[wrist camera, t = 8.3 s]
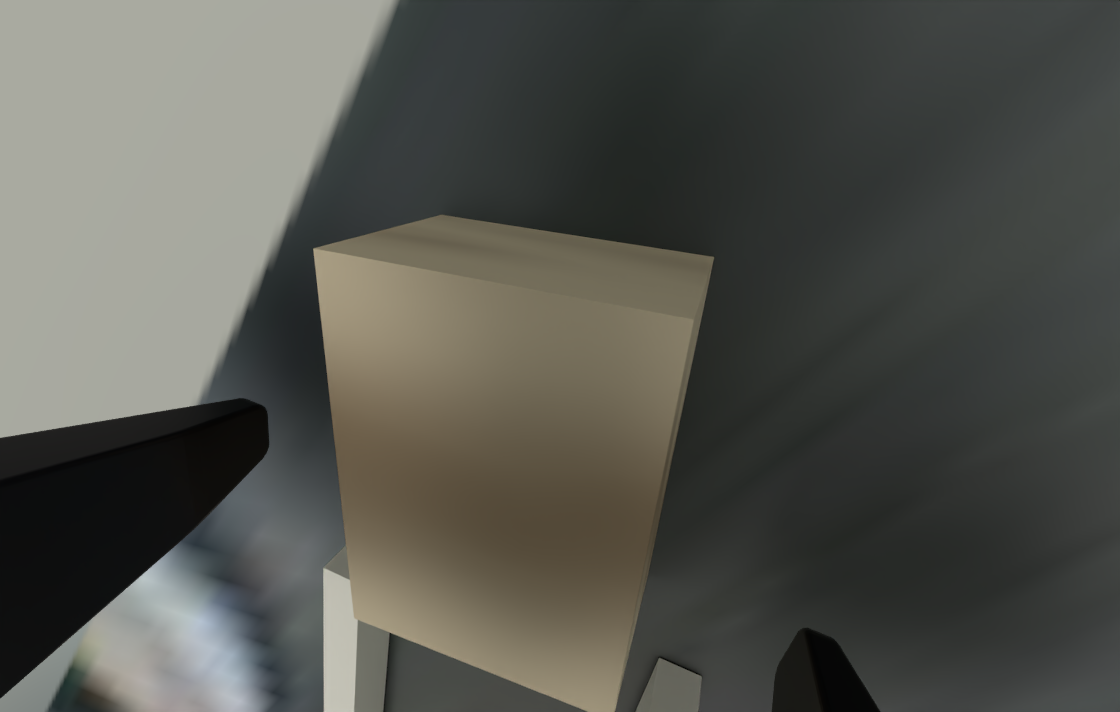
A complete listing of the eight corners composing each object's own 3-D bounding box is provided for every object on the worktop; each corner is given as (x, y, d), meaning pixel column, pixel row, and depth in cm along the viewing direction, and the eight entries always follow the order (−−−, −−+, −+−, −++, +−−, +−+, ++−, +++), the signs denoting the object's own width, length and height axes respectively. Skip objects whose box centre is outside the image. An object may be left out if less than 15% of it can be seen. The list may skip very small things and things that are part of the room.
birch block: (649, 567, 12) (612, 721, 9) (448, 503, 13) (354, 617, 10) (715, 254, 9) (694, 319, 6) (447, 213, 10) (313, 248, 7)
